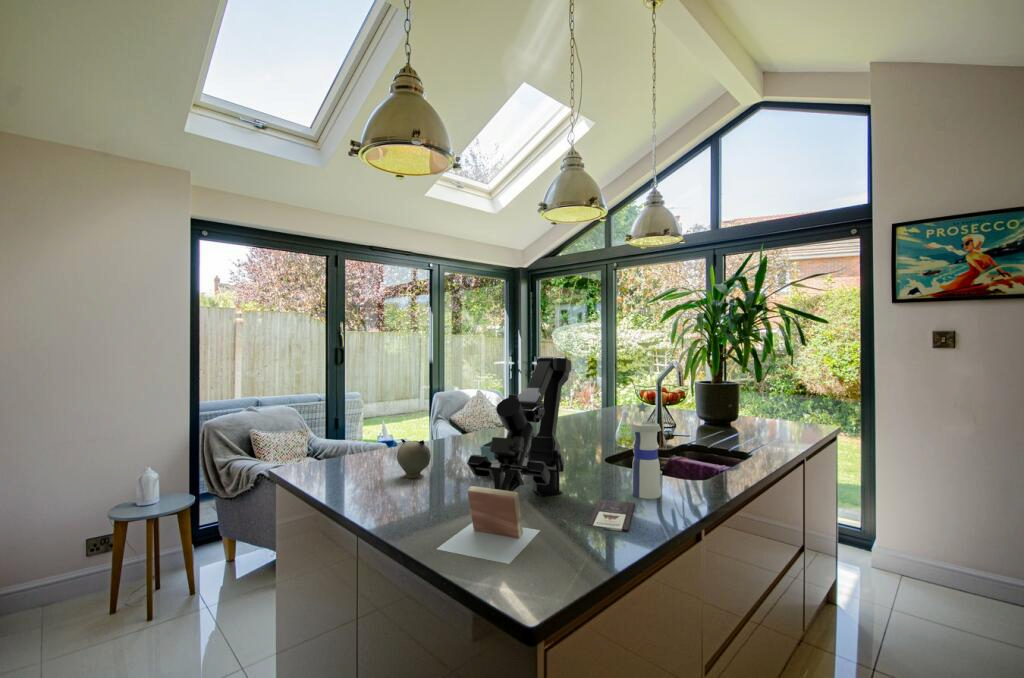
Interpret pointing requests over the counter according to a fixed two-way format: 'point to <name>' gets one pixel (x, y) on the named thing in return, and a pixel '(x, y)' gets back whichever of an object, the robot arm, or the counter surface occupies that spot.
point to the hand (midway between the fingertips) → (496, 503)
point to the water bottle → (646, 459)
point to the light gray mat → (488, 544)
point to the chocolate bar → (612, 515)
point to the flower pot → (488, 452)
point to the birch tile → (495, 511)
